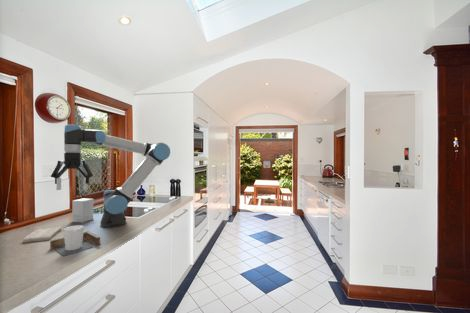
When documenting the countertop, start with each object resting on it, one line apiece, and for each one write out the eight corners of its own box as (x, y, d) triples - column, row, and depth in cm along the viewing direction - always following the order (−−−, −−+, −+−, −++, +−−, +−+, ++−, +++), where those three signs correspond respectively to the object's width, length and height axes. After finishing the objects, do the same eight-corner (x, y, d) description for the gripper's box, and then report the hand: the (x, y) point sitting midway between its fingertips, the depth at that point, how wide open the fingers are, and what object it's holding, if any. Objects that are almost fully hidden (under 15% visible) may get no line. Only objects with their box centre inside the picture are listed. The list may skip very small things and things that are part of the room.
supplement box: (93, 219, 154) (94, 198, 154) (83, 222, 146) (83, 201, 146) (83, 218, 156) (83, 197, 156) (71, 222, 147) (72, 200, 147)
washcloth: (62, 230, 132) (62, 225, 132) (50, 241, 115) (50, 235, 115) (37, 232, 127) (37, 227, 127) (22, 244, 111) (22, 238, 111)
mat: (83, 241, 114) (83, 241, 114) (92, 247, 107) (92, 246, 107) (54, 249, 104) (54, 248, 104) (63, 256, 97) (63, 255, 97)
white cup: (70, 252, 100) (70, 231, 100) (59, 249, 103) (60, 229, 103) (87, 246, 108) (87, 226, 108) (77, 243, 111) (77, 224, 111)
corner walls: (88, 238, 118) (88, 231, 118) (100, 244, 110) (100, 237, 110) (50, 248, 105) (50, 240, 105) (60, 256, 97) (60, 248, 97)
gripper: (42, 151, 115) (42, 191, 115) (93, 152, 119) (93, 190, 119) (52, 152, 122) (51, 189, 122) (99, 152, 126) (99, 188, 126)
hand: (72, 189), depth 121 cm, fingers open, 13 cm apart
